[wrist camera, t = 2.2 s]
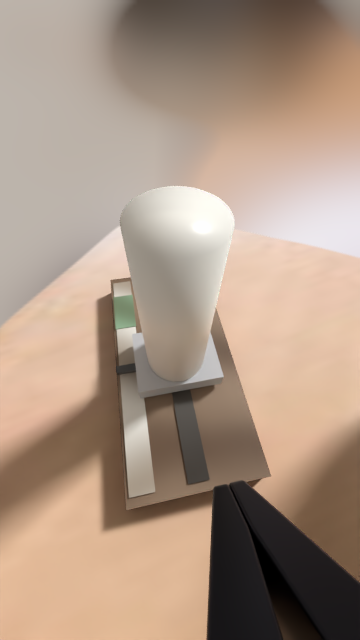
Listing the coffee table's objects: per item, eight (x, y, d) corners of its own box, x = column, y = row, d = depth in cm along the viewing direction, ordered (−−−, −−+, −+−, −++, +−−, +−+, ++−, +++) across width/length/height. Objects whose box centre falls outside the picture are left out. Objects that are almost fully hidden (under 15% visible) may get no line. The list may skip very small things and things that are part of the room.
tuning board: (263, 477, 16) (272, 476, 14) (130, 508, 15) (125, 510, 13) (201, 279, 24) (203, 266, 23) (114, 291, 23) (110, 278, 22)
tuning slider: (220, 383, 17) (279, 252, 8) (119, 402, 16) (43, 282, 7) (205, 331, 19) (236, 177, 10) (115, 345, 18) (53, 193, 9)
